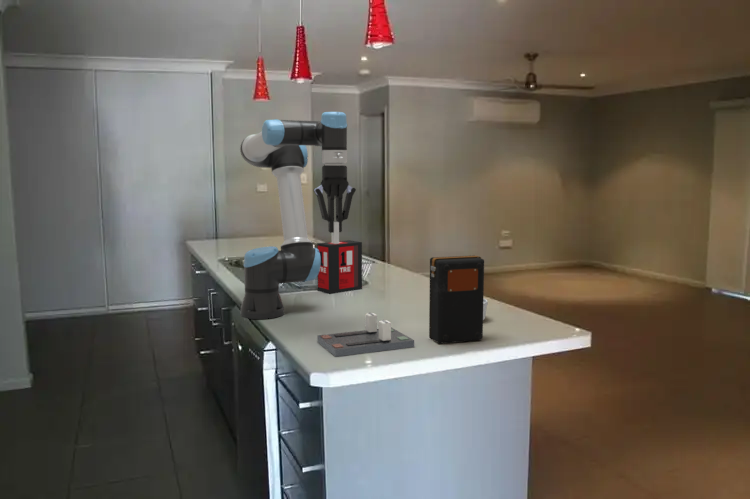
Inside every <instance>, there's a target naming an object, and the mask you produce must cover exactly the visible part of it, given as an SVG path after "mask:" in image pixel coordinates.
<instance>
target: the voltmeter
mask: <svg viewBox="0 0 750 499" xmlns="http://www.w3.org/2000/svg"><path fill="white" fill-rule="evenodd" d="M484 281H485V259H483V258H482V257H481V256H479V255H475V254H473V255H458V256H457V255H456V256H437V257H430V258H429V307H428V308H429V312H428V313H429V314H428V315H429V316H428V318H429V319H428V320H429V321H428V322H429V323H428V324H429V326H428V328H429V329H428V330H429V331H428V333H429V334H428V337H429V339H430V340H433V341H435V342H437V343H438V344H447V343H459V342H467V341H468V342H471V341H479V340H480V341H481V340H482V339H483V337H484V336H483V334H484V330H483V329H484V327H483V326H484V320H483V298H484V290H485V288H484V287H485V286H484V285H485V282H484Z"/></svg>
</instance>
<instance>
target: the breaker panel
mask: <svg viewBox="0 0 750 499" xmlns="http://www.w3.org/2000/svg"><path fill="white" fill-rule="evenodd" d="M316 336H317V338H316V341H317V343H318V344H319V345H320V346H322V347H323V349H327V350H326V351H328V352H329V353H330V354H331V355H333V356H334V357H335V358H337V357H346V356H354V355H361V354H368V353H377V352H378V353H379V352H385V351H393V350H394V351H395V350H399V349H402V350H403V349H409V348H414V347H415V339H413V338H411V337H410V336H408V335H406V334H404V333H402V332H400V331H399V330H397V329H395V328H394V327H392V326H391V340H385V341H383V340H381V339H379V328H377V331H376V332H368V331H366V330H364V329H363V330H354V331H345V332H335V333H328V334H319V335H318V334H317V335H316Z"/></svg>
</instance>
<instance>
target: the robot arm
mask: <svg viewBox="0 0 750 499" xmlns="http://www.w3.org/2000/svg"><path fill="white" fill-rule="evenodd" d="M307 146H308V147H309V146H310V147H311V146H313V147H314V146H315V147H321V164H323V165H322V167H321V182H320V185H319V186H317V187H315V188H314V189H313V193H314V194H315V196H316V199H317V202H318V203H317V204H318V207H319V210H320V214H321V219H323V220H325V221H327V223H328V224H327V225H328V232H329V234H330V233H331V234H330V237H331V242H332V243H333V244H339V241H340V233H342V232H343V224H342V223H343V221H345V220H349V213H350V208H351V205H352V202H353V196H354V195H355V192H356V188H355V187H353V186H351V185H350V184H349V181H348V166H347V165H346V164H347V163H348V122H347V114H346V113H345V112H342V111H325V112H322V114H321V118H320V120H294V119H291V120H290V119H289V120H288V119H277V118H275V119H266V120H265V121H264V122H263V123H262V128H261V131H260V132H258V133H255V134H254V133H253V134H249V135H248V136H246V137H245V138H243V139H242V141H241V144H240V146H239V150H240V155H241V158H242V159H244V161H245V162H246V163H247V164H249V165H251V166H254V167H257V168H263V169H264V168H266V169H270V170H271V174H272V175H273V176H274V177H276V182H277V189H278V190H277V193H278V198H279V200H278V201H279V207H280V208H279V209H280V216H281V217H280V218H281V224H282V234H283V242H282V244H280V250H279V247H276V246H271V245H270V246H263V247H262V246H261V247H257V248H256V247H255V248H253V249H250V250H248V251H246V252H245V254H244V256H243V258H244V259H243V268H244V269H243V270H244V272H243V273H244V296H243V299H242V303H241V305H240V309H239V310H240V312H239V313H240V317H242V318H245V319H251V320H266V319H267V320H269V319H275V318H280V317H282V316H284V315H285V306H284V303H283V300H282V298H281V294H280V289H279V288H280V286H279V285H280V284H289V283H290V284H291V283H301V282H302V283H305V282H310V281H311V282H312V281H314V280H316V278H317V276H318V274H319V271H320V265H321V256H320V253H319V250H318V249H317V247H314V242H313V241H311V240H310V239H309V238H308V237H309V236H308V227H307V218H306V213H305V211H306V210H305V204H304V195H303V194H304V193H303V188H302V178H301V175H302V173H303V172H304V171H305V170H304V168H306V167H307V165H308V162H309V161H308V157H309V156H308V149H307ZM345 191H346V195H345V199H344V202H343V195H344V193H345ZM323 193H325V194H326V199H327V206H326V203H325V201H326V200H325V198H324V194H323ZM268 318H269V319H268Z"/></svg>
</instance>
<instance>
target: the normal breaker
mask: <svg viewBox="0 0 750 499" xmlns="http://www.w3.org/2000/svg"><path fill="white" fill-rule="evenodd" d="M364 320H365V321H364V322H365V324H364V325H365V330H366V331H368V332H376V331H377V329H378V315H377V314H376V313H374V312H368V313H365V317H364Z"/></svg>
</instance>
